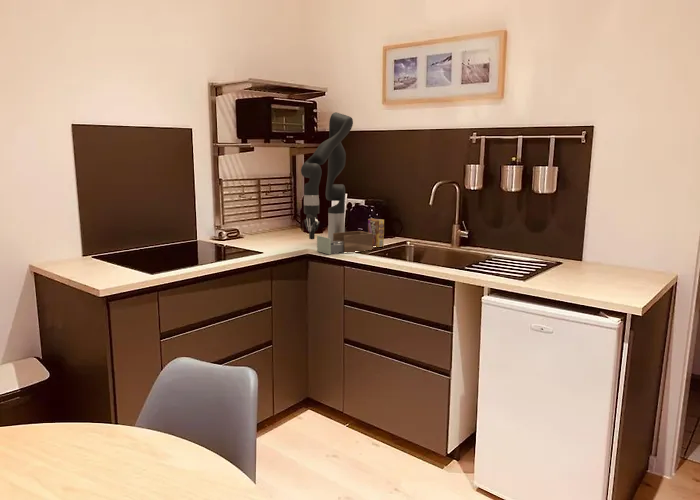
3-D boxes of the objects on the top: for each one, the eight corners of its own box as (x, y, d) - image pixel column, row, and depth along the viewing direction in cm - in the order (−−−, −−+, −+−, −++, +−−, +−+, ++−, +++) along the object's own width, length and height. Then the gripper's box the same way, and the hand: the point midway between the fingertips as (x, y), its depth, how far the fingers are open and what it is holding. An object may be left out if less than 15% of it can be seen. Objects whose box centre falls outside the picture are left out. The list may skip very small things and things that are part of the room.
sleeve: (333, 250, 280) (333, 233, 278) (360, 247, 289) (360, 230, 287) (344, 253, 270) (344, 235, 269) (372, 250, 279) (372, 233, 277)
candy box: (384, 247, 288) (384, 219, 286) (378, 248, 286) (378, 220, 283) (373, 245, 295) (373, 218, 293) (367, 246, 292) (367, 218, 290)
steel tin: (331, 249, 276) (331, 241, 275) (340, 248, 278) (340, 240, 278) (336, 250, 271) (336, 242, 270) (345, 249, 274) (345, 241, 273)
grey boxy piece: (317, 250, 276) (317, 235, 274) (344, 248, 284) (344, 233, 283) (329, 254, 265) (329, 238, 263) (357, 251, 273) (357, 236, 272)
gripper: (324, 204, 259) (325, 240, 262) (312, 203, 270) (312, 237, 273) (311, 205, 255) (311, 241, 258) (298, 203, 266) (299, 238, 269)
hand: (311, 239), depth 265 cm, fingers closed
